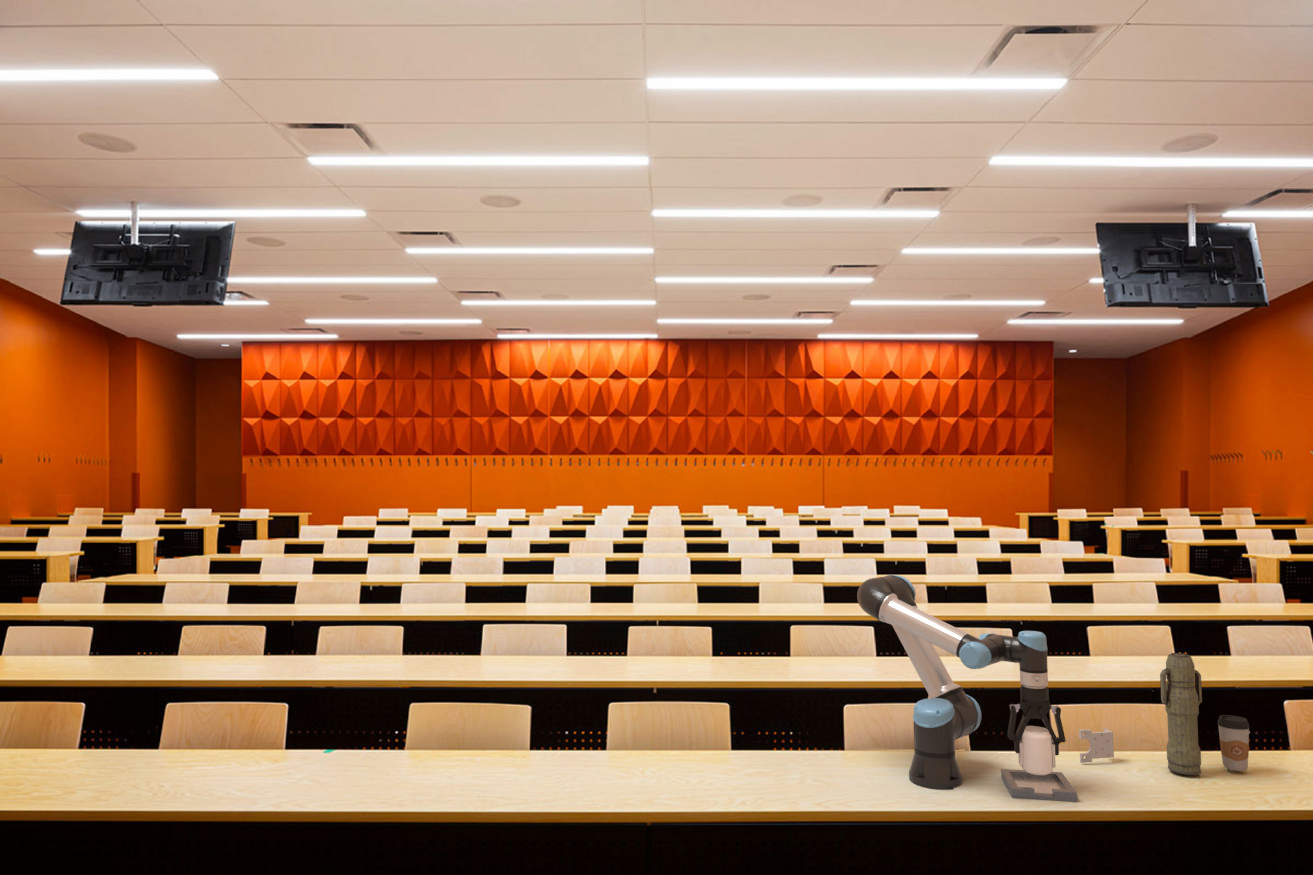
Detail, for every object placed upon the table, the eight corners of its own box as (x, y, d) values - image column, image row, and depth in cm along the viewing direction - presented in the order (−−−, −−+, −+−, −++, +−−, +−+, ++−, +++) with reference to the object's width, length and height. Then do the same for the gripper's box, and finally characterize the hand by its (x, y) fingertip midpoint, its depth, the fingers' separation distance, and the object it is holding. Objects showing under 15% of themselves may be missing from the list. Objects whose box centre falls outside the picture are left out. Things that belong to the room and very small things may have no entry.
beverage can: (1052, 768, 251) (1051, 727, 252) (1052, 777, 244) (1051, 734, 244) (1022, 765, 255) (1021, 724, 255) (1021, 774, 247) (1020, 731, 248)
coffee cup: (1222, 770, 263) (1220, 720, 263) (1216, 761, 270) (1214, 713, 271) (1254, 773, 260) (1252, 723, 260) (1247, 764, 267) (1245, 715, 268)
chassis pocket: (1012, 797, 243) (1011, 788, 243) (1001, 777, 259) (1000, 768, 259) (1077, 801, 239) (1076, 792, 239) (1062, 780, 256) (1061, 772, 256)
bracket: (1105, 756, 277) (1103, 724, 278) (1114, 760, 273) (1112, 728, 274) (1073, 758, 276) (1072, 726, 276) (1081, 762, 272) (1080, 730, 272)
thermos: (1213, 773, 260) (1208, 656, 262) (1177, 775, 258) (1173, 658, 260) (1191, 764, 269) (1186, 650, 270) (1156, 766, 267) (1152, 652, 269)
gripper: (998, 687, 249) (1001, 767, 248) (1076, 690, 245) (1079, 771, 243) (994, 681, 256) (996, 759, 255) (1069, 683, 252) (1072, 763, 251)
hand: (1037, 765), depth 249 cm, fingers closed on beverage can, 8 cm apart
